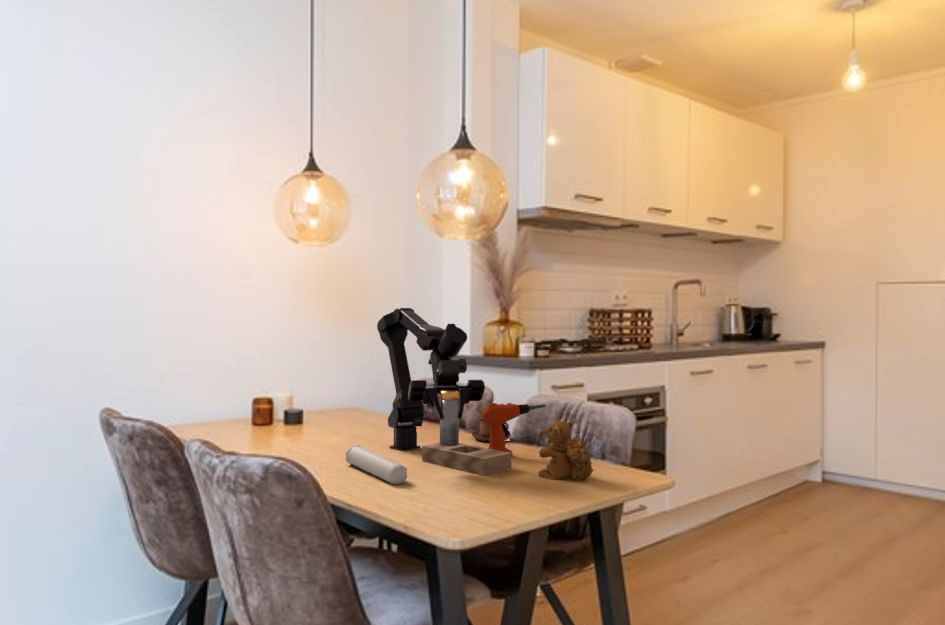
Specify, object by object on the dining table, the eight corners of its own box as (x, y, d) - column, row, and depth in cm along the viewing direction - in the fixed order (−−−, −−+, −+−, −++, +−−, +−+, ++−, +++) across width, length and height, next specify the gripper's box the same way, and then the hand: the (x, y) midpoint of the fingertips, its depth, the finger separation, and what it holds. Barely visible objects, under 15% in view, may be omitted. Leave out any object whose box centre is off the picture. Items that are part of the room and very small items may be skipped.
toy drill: (553, 450, 188) (547, 396, 188) (488, 462, 183) (481, 406, 183) (546, 446, 193) (541, 393, 192) (482, 458, 188) (476, 404, 187)
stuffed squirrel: (558, 469, 172) (559, 416, 172) (604, 479, 162) (605, 423, 162) (531, 475, 165) (532, 420, 165) (577, 486, 155) (578, 428, 155)
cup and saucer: (488, 435, 219) (488, 416, 219) (518, 440, 211) (518, 420, 211) (463, 440, 210) (463, 420, 210) (494, 445, 202) (494, 424, 202)
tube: (414, 467, 156) (367, 447, 177) (395, 462, 153) (349, 442, 174) (407, 490, 155) (361, 467, 176) (387, 485, 152) (342, 463, 173)
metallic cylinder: (435, 444, 167) (436, 391, 167) (447, 441, 171) (448, 389, 171) (450, 447, 164) (451, 392, 164) (462, 444, 168) (463, 391, 168)
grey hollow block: (422, 461, 179) (422, 445, 179) (449, 455, 187) (449, 440, 187) (484, 475, 164) (484, 458, 164) (511, 469, 171) (511, 453, 171)
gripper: (410, 347, 169) (416, 398, 158) (484, 347, 173) (494, 397, 163) (405, 376, 177) (411, 426, 166) (476, 375, 181) (485, 424, 170)
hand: (450, 418), depth 166 cm, fingers closed on metallic cylinder, 5 cm apart
